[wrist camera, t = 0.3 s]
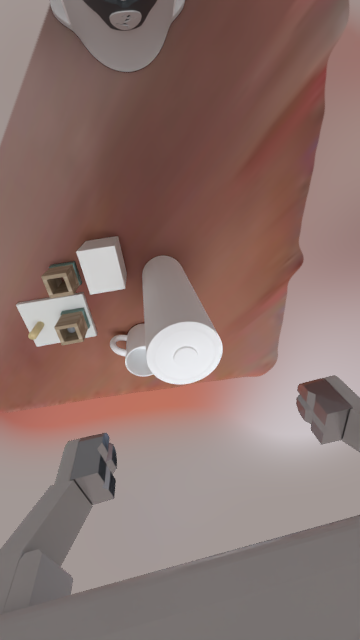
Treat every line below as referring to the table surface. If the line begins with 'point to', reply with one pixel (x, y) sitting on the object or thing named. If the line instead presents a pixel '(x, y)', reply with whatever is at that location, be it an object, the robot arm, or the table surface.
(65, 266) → the sleeve
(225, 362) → the table surface
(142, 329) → the mug
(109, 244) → the white box
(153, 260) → the cylinder container
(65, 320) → the sleeve seated
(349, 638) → the robot arm
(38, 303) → the pin board
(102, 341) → the table surface
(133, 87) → the table surface
